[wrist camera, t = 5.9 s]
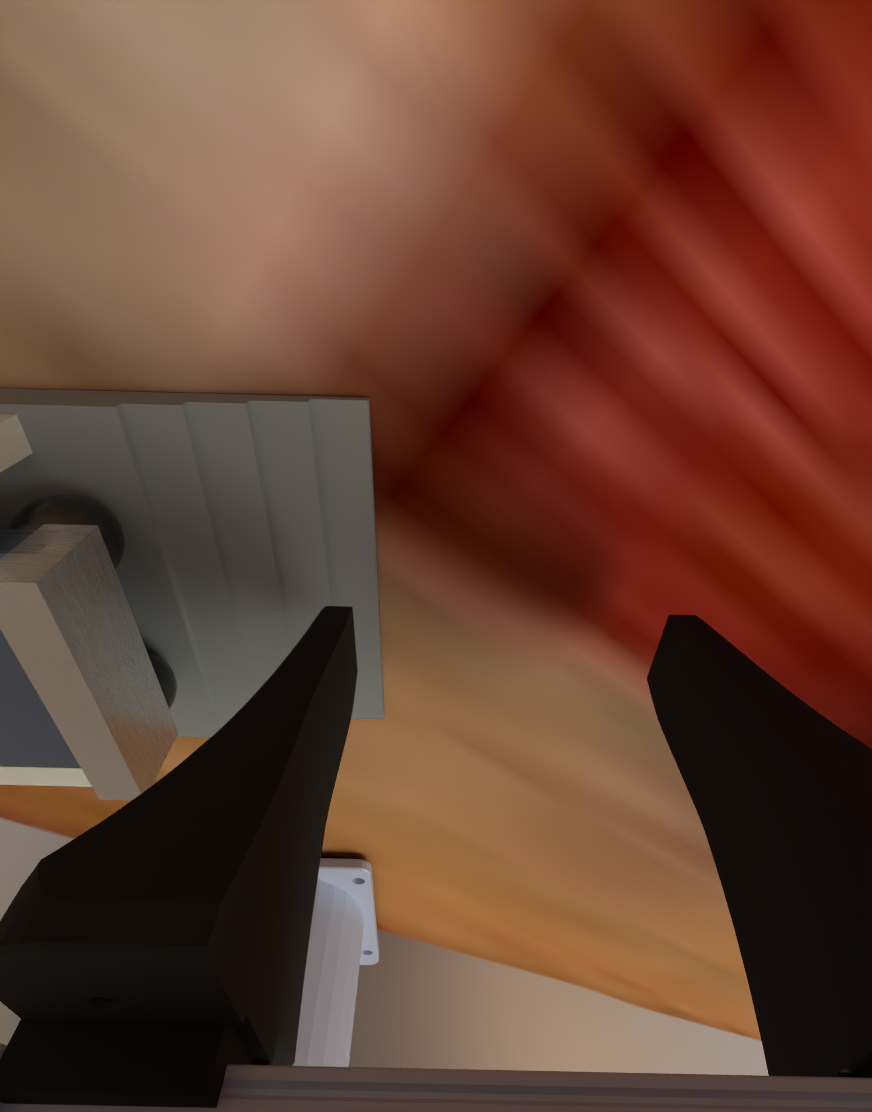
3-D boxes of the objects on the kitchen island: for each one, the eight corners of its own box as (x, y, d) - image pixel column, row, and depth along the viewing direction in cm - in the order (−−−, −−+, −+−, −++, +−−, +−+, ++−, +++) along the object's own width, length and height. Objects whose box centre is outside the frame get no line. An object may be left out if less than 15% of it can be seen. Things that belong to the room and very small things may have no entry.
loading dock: (384, 714, 17) (372, 822, 14) (-119, 702, 17) (-239, 808, 14) (368, 397, 11) (342, 466, 8) (-388, 378, 11) (-686, 440, 8)
